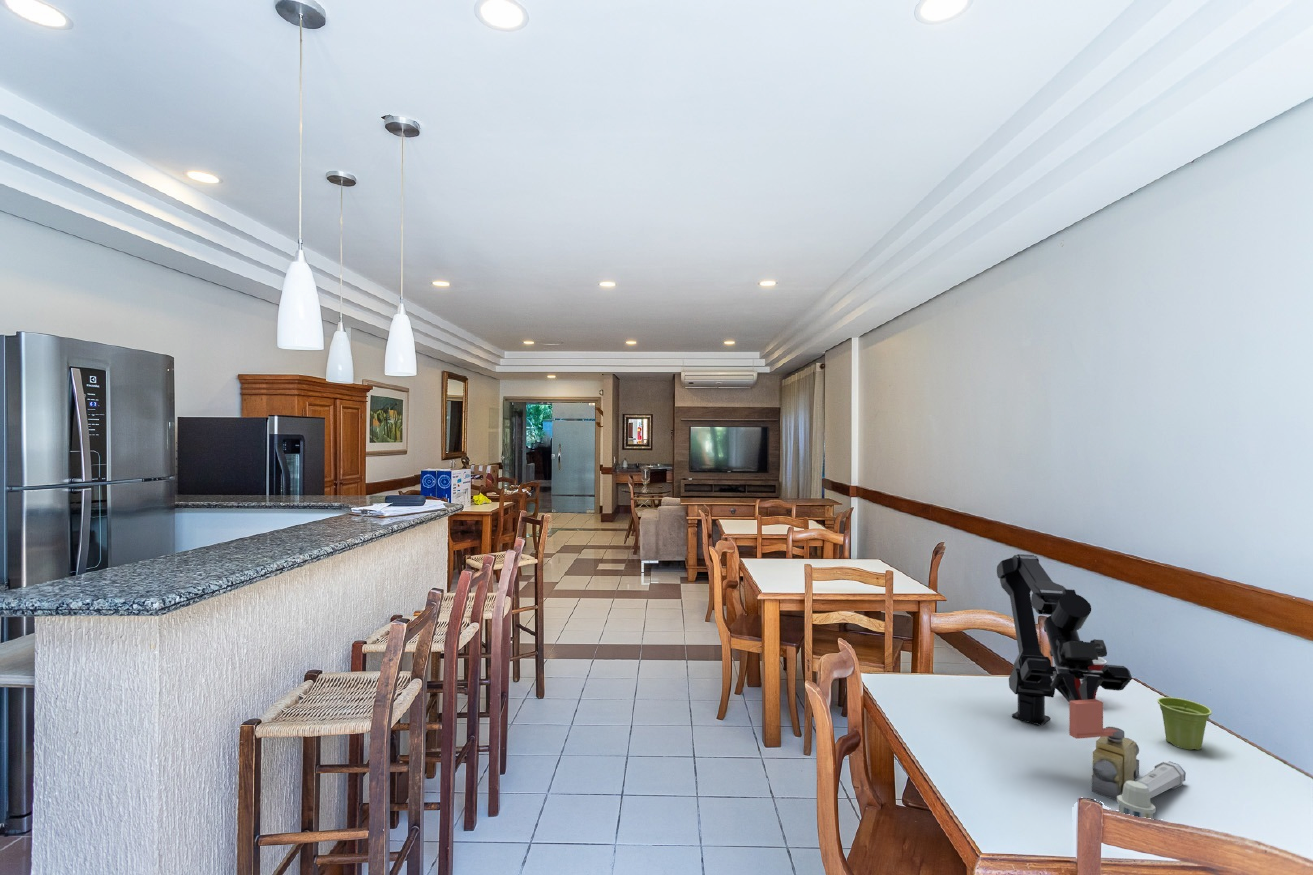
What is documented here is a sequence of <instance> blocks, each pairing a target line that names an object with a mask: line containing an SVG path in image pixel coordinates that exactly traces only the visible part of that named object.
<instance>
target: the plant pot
mask: <svg viewBox="0 0 1313 875" xmlns="http://www.w3.org/2000/svg"><path fill="white" fill-rule="evenodd" d="M1156 701H1157V704H1158V705H1159V707H1160V710H1161V715H1162V721H1163V726H1164V734H1165V740H1166V742H1168V743H1170V744H1172V745H1173V746H1175V747H1178V748H1180V749H1184V750H1190V751H1191V750H1197V751H1199V750H1201V749H1202V747H1203V743H1204V742H1203V741H1204V737H1205V731H1206V726H1207V721H1209V717H1210V716H1211V715H1212V713H1213V712H1212V709H1210V707H1207V706H1206V705H1204V704H1201V703H1198V702H1196V701H1192V700H1189V699H1185V698H1180V697H1179V698H1178V697H1168V696H1166V697H1165V696H1164V697H1159V698H1157V700H1156Z"/></svg>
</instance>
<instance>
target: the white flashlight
mask: <svg viewBox="0 0 1313 875" xmlns="http://www.w3.org/2000/svg"><path fill="white" fill-rule="evenodd" d="M1186 773H1187V772H1186V771H1185V770H1184V768H1183V767H1182V766H1181V765H1180V764H1178V763H1176V762H1173V761H1168V762H1165V761H1162V762H1160V763H1158V764H1156V765H1154V769H1152V770H1151V771H1150V772H1148V773H1147V774H1145V775H1144V776H1143V777H1141V778H1139V779H1138V780H1137V781H1126V782H1125V784H1124V786H1123V793H1121V795H1119V796H1117V800H1116V802H1117V803H1118V813H1119V812H1121V813H1125V814H1130V815H1134V816H1138V817H1146V818H1151V819H1152V820H1153V814H1154V813H1156V806H1155V804H1153V803H1152V802H1151V799H1152V798H1154V797H1156V796H1158V795H1160V794H1162V793H1163V792H1165V791H1168V790H1170V789H1174V790H1175V789H1177V788H1179V787H1181V786H1183V783H1184V782H1185V781H1186V778H1187V777H1186Z"/></svg>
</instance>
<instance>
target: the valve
mask: <svg viewBox="0 0 1313 875" xmlns="http://www.w3.org/2000/svg"><path fill="white" fill-rule="evenodd" d="M1095 747H1096V748H1095V749H1094V750H1093V751H1092V775H1091V792H1093V793H1096V794H1098V795H1101V796H1104V797H1106V798H1108V799H1109V798H1110V799H1111V800H1115V801H1117V796H1119V795H1122V793H1123V786H1124V784H1125V782H1126V781H1134V780H1136V779H1137V778H1138V777H1139V776H1140V759H1138V758H1137V756H1138V754H1139V752H1140V748H1139V745H1138V744H1137V742H1136V741H1134V740H1133V739H1131V738H1129V737H1124V738H1122V739H1119V738H1113V737H1110V736H1105V737H1098V738H1097V740H1096V741H1095Z"/></svg>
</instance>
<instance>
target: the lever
mask: <svg viewBox="0 0 1313 875" xmlns="http://www.w3.org/2000/svg"><path fill="white" fill-rule="evenodd" d="M1068 703H1069V704H1068V705H1069V711H1068V712H1069V716H1068V717H1069V718H1068V719H1069V721H1068V722H1069V723H1068V724H1069V725H1068V726H1069V730H1068V732H1069V733H1068V734H1069V736H1070V737H1072V738H1074V739H1088V738H1090V739H1091V738H1100V737H1105V736H1110V737H1113V738H1119V739H1122V738H1125V731H1124V730H1123V729H1121V728H1118V727H1115V726H1106V727H1104V702H1103V701H1102V700H1099V699H1097V698H1095V699H1089V700H1074V701H1069V702H1068Z"/></svg>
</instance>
